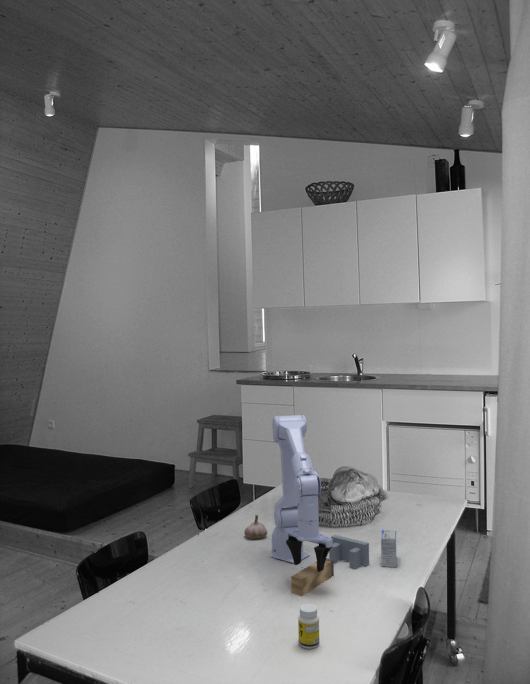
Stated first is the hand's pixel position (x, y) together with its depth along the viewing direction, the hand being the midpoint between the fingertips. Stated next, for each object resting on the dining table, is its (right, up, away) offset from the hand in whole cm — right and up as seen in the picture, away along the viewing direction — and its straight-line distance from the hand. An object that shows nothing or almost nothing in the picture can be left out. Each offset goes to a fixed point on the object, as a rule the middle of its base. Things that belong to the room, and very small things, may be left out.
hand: (308, 567), depth 173 cm
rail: (+1, -5, +2) cm, 6 cm away
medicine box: (+25, -5, +16) cm, 30 cm away
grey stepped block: (+13, -4, +17) cm, 22 cm away
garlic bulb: (-15, -4, +39) cm, 42 cm away
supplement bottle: (-2, -7, -30) cm, 31 cm away
